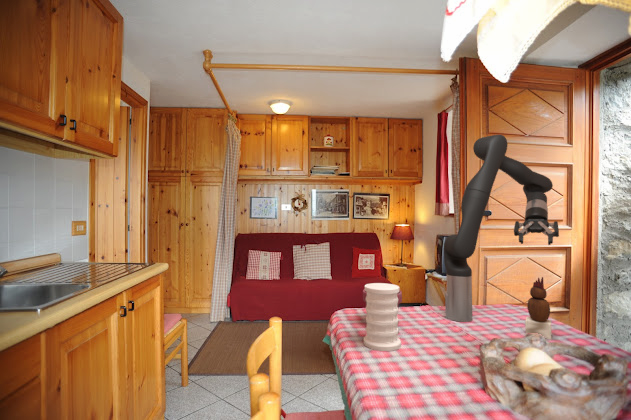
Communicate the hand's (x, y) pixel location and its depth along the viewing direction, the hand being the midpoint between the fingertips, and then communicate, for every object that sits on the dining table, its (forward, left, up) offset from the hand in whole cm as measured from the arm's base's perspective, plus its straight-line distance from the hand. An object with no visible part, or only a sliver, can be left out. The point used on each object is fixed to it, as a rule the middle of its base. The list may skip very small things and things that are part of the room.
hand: (535, 242), depth 121 cm
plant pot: (-46, -35, -31) cm, 65 cm away
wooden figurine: (+1, -12, -26) cm, 28 cm away
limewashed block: (+1, -12, -31) cm, 33 cm away
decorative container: (-38, -52, -31) cm, 71 cm away
